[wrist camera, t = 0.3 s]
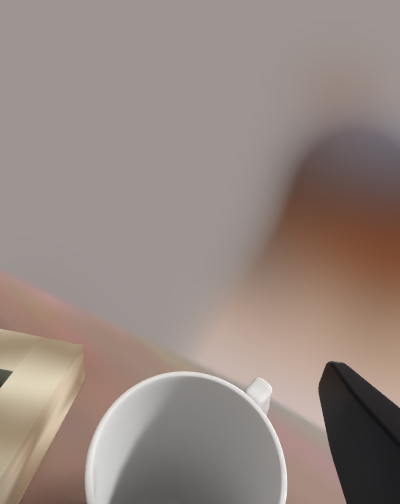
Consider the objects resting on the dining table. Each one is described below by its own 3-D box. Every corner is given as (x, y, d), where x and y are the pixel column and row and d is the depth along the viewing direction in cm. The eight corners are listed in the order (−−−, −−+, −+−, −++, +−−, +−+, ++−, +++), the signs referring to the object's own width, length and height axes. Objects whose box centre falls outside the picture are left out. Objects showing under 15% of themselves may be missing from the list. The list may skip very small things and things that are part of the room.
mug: (156, 742, 13) (191, 684, 7) (70, 580, 16) (43, 449, 11) (281, 523, 20) (352, 399, 14) (201, 442, 23) (230, 316, 17)
